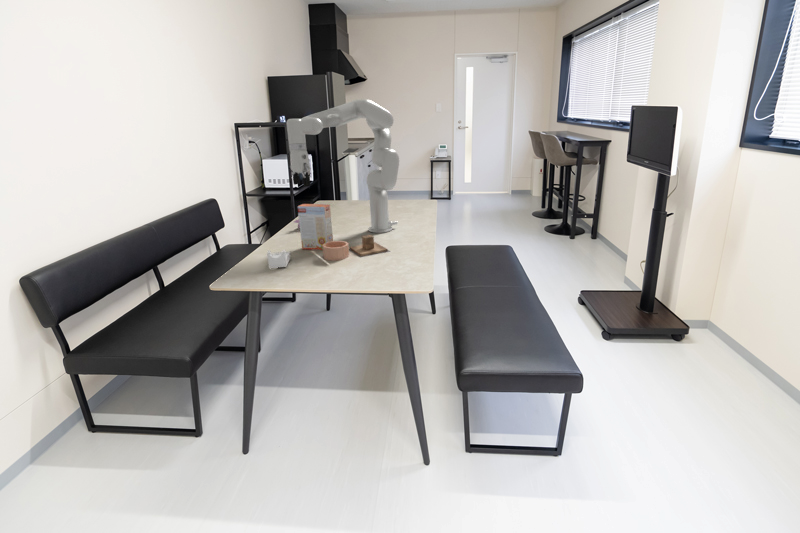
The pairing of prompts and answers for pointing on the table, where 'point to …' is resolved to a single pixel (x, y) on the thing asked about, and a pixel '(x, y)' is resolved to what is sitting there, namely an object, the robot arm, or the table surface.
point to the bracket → (278, 259)
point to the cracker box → (315, 225)
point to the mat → (367, 255)
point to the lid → (368, 247)
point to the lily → (297, 222)
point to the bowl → (336, 250)
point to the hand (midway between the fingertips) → (301, 185)
